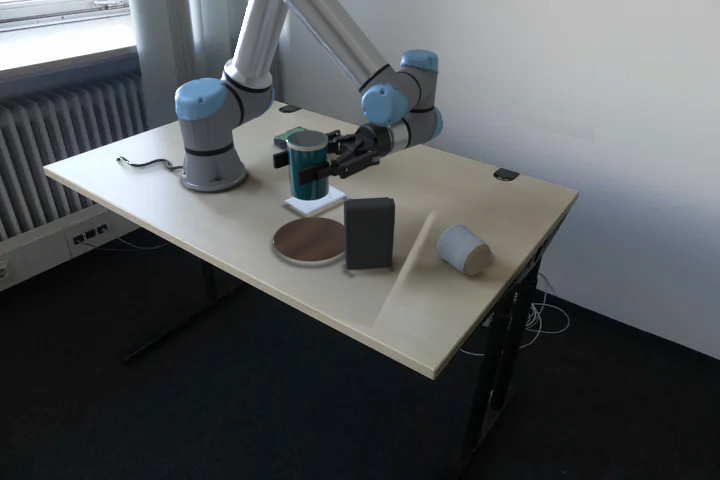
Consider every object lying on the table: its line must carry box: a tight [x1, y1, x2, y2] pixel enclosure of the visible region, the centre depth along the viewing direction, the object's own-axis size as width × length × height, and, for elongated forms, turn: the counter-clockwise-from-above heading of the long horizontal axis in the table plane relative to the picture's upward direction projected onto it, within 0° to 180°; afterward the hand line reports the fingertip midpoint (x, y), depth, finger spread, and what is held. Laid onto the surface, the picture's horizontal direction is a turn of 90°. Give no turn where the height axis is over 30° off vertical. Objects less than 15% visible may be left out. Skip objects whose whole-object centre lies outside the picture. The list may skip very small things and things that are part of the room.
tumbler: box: [287, 129, 330, 201], centre depth 97 cm, size 8×8×11 cm
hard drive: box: [283, 184, 348, 216], centre depth 120 cm, size 2×8×12 cm
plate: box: [272, 216, 345, 262], centre depth 107 cm, size 16×16×1 cm
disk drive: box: [273, 125, 308, 151], centre depth 145 cm, size 10×3×15 cm
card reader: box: [343, 196, 396, 271], centre depth 96 cm, size 9×4×15 cm, turn 97°
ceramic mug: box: [436, 223, 494, 276], centre depth 100 cm, size 11×8×8 cm
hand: (286, 169), depth 94 cm, fingers closed on tumbler, 7 cm apart
